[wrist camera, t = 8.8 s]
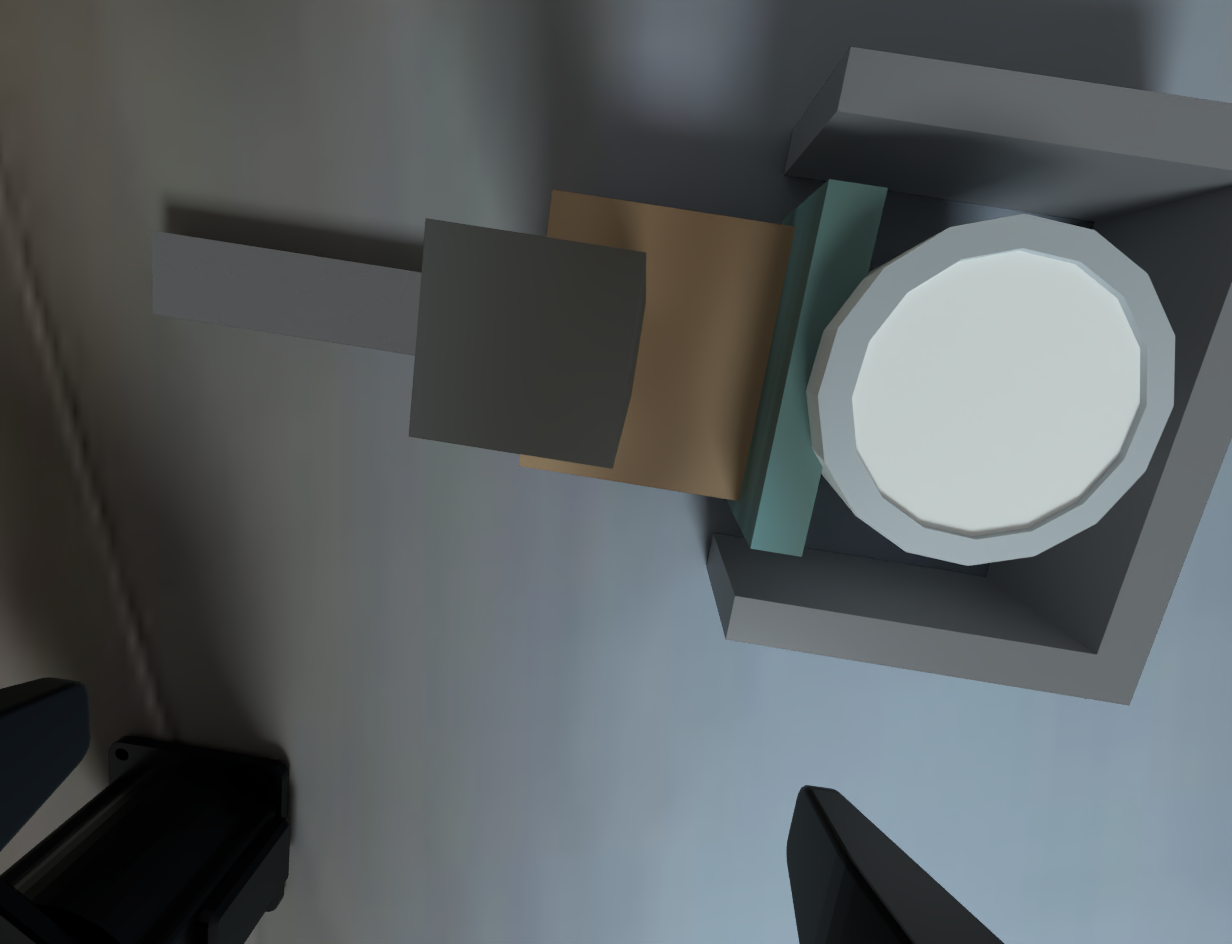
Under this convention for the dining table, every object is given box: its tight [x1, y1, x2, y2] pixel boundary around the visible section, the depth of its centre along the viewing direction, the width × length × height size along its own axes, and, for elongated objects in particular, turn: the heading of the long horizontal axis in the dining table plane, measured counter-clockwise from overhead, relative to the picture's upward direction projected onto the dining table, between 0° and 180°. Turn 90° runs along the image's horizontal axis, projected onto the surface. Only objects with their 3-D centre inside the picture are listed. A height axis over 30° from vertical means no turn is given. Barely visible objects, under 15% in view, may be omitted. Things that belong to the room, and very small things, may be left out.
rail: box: [151, 231, 421, 355], centre depth 18 cm, size 9×2×1 cm, turn 81°
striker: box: [409, 179, 888, 557], centre depth 12 cm, size 7×8×11 cm
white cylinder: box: [806, 214, 1175, 566], centre depth 15 cm, size 7×7×7 cm
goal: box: [707, 47, 1232, 705], centre depth 16 cm, size 10×13×5 cm
